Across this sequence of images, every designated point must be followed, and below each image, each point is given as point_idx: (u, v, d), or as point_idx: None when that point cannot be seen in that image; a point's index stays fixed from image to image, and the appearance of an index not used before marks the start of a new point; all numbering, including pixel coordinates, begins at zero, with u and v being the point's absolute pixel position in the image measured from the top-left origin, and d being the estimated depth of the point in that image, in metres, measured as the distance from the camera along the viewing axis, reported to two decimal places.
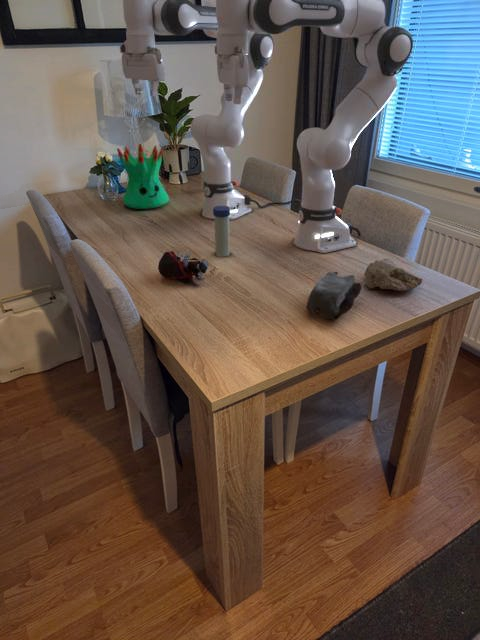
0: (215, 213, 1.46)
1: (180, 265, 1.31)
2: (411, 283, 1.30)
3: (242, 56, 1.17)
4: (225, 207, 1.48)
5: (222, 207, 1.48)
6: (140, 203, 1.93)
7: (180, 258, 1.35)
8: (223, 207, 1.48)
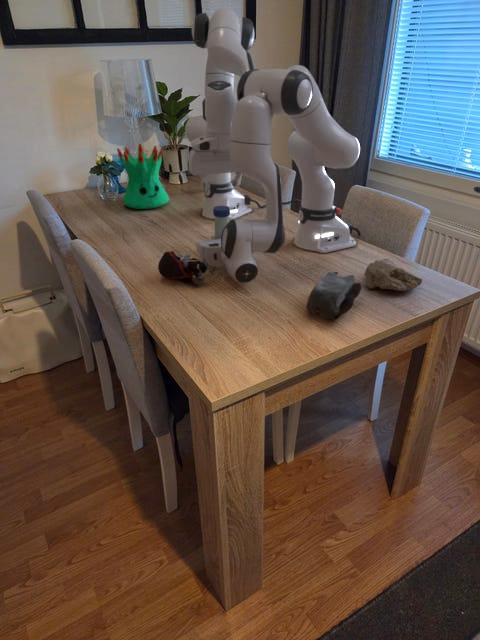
0: (215, 213, 1.46)
1: (180, 265, 1.31)
2: (411, 283, 1.30)
3: None
4: (225, 207, 1.48)
5: (222, 207, 1.48)
6: (140, 203, 1.93)
7: (180, 258, 1.35)
8: (223, 207, 1.48)
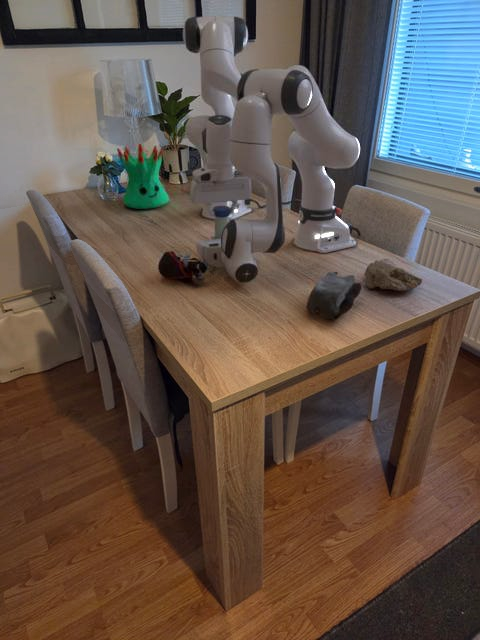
0: (215, 213, 1.46)
1: (180, 265, 1.31)
2: (411, 283, 1.30)
3: None
4: (225, 207, 1.48)
5: (222, 207, 1.48)
6: (140, 203, 1.93)
7: (180, 258, 1.35)
8: (223, 207, 1.48)
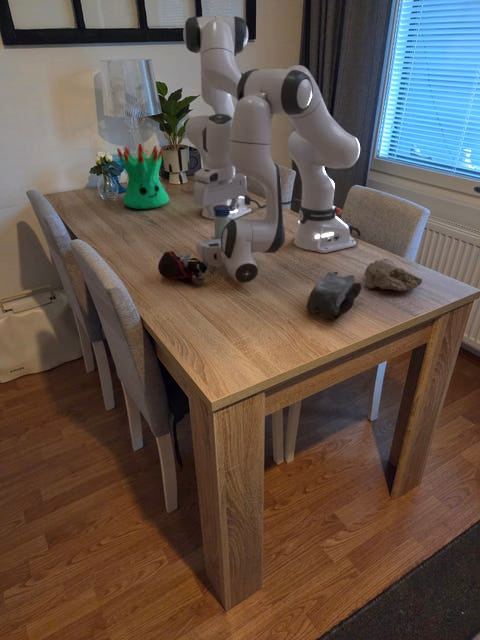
0: (227, 212, 1.46)
1: (180, 265, 1.31)
2: (411, 283, 1.30)
3: None
4: (219, 206, 1.48)
5: (219, 207, 1.47)
6: (140, 203, 1.93)
7: (180, 258, 1.35)
8: (218, 206, 1.47)
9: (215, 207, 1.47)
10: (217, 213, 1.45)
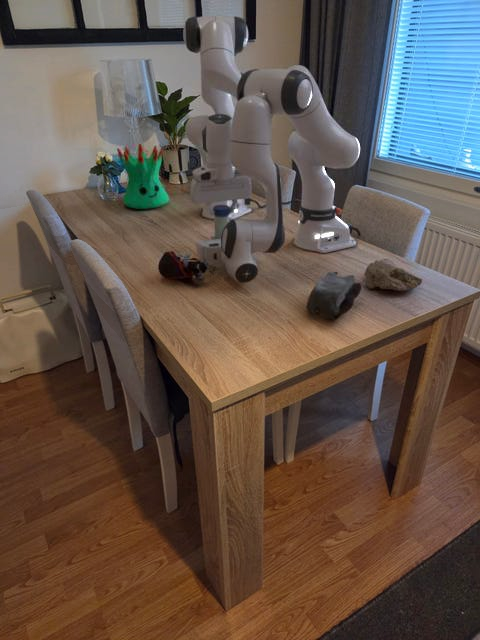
0: (227, 212, 1.46)
1: (180, 265, 1.31)
2: (411, 283, 1.30)
3: None
4: (219, 206, 1.48)
5: (219, 207, 1.47)
6: (140, 203, 1.93)
7: (180, 258, 1.35)
8: (218, 206, 1.47)
9: (215, 207, 1.47)
10: (217, 213, 1.45)
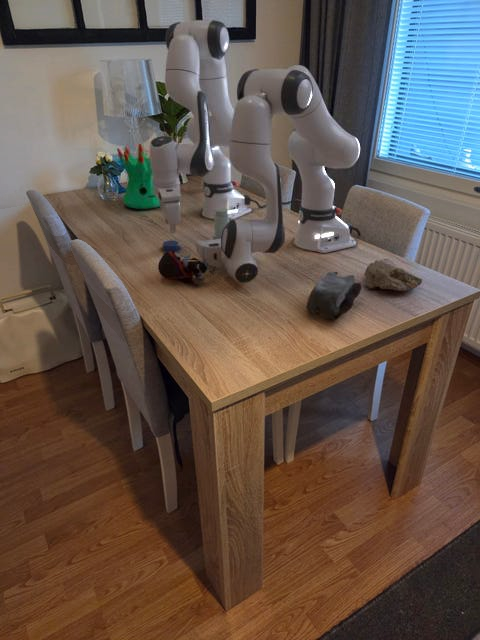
0: None
1: (180, 265, 1.31)
2: (411, 283, 1.30)
3: None
4: (166, 244, 1.58)
5: (169, 244, 1.58)
6: (140, 203, 1.93)
7: (180, 258, 1.35)
8: (168, 244, 1.57)
9: (170, 245, 1.57)
10: (177, 248, 1.58)
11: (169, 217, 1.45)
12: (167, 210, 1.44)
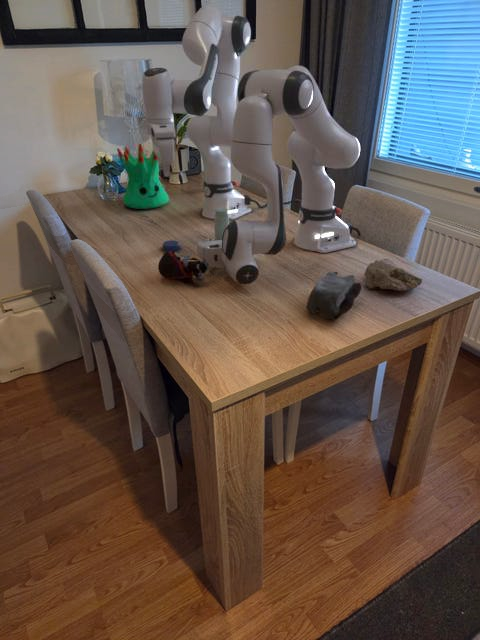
0: None
1: (180, 265, 1.31)
2: (411, 283, 1.30)
3: None
4: (166, 244, 1.58)
5: (169, 244, 1.58)
6: (140, 203, 1.93)
7: (180, 258, 1.35)
8: (168, 244, 1.57)
9: (170, 245, 1.57)
10: (177, 248, 1.58)
11: (162, 155, 1.34)
12: (160, 147, 1.33)
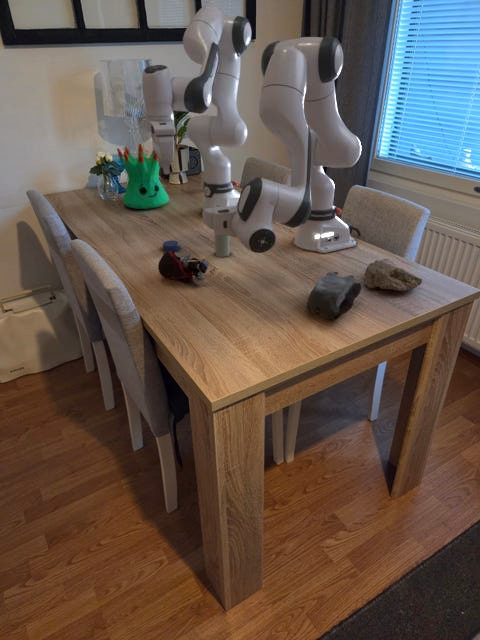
0: None
1: (180, 265, 1.31)
2: (411, 283, 1.30)
3: None
4: (166, 244, 1.58)
5: (169, 244, 1.58)
6: (140, 203, 1.93)
7: (180, 258, 1.35)
8: (168, 244, 1.57)
9: (170, 245, 1.57)
10: (177, 248, 1.58)
11: (162, 152, 1.34)
12: (160, 144, 1.33)
